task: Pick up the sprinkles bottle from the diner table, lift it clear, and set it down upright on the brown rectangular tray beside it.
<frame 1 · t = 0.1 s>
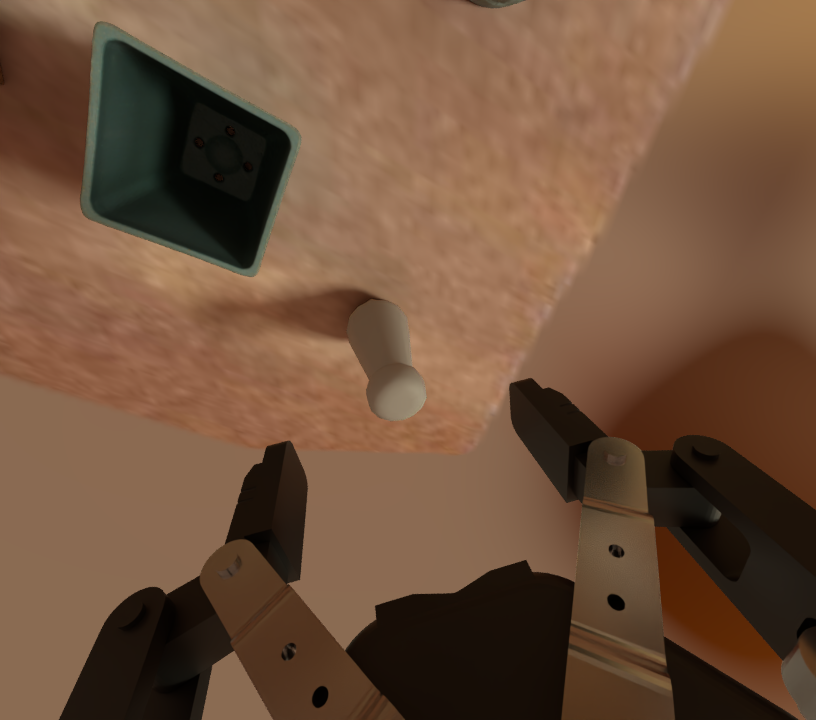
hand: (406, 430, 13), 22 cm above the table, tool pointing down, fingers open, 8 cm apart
flower pot: (226, 156, 26), on the table
salt shaker: (374, 316, 35), on the table
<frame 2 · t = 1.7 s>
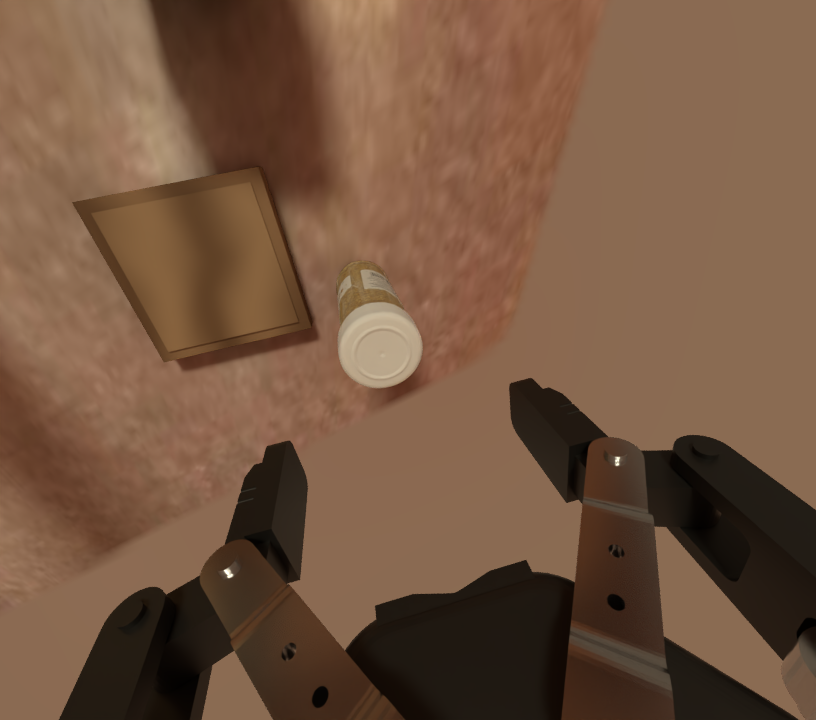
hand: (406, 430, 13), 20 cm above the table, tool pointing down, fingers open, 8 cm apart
brown rectangular tray: (212, 268, 28), on the table
sprinkles bottle: (363, 286, 31), on the table
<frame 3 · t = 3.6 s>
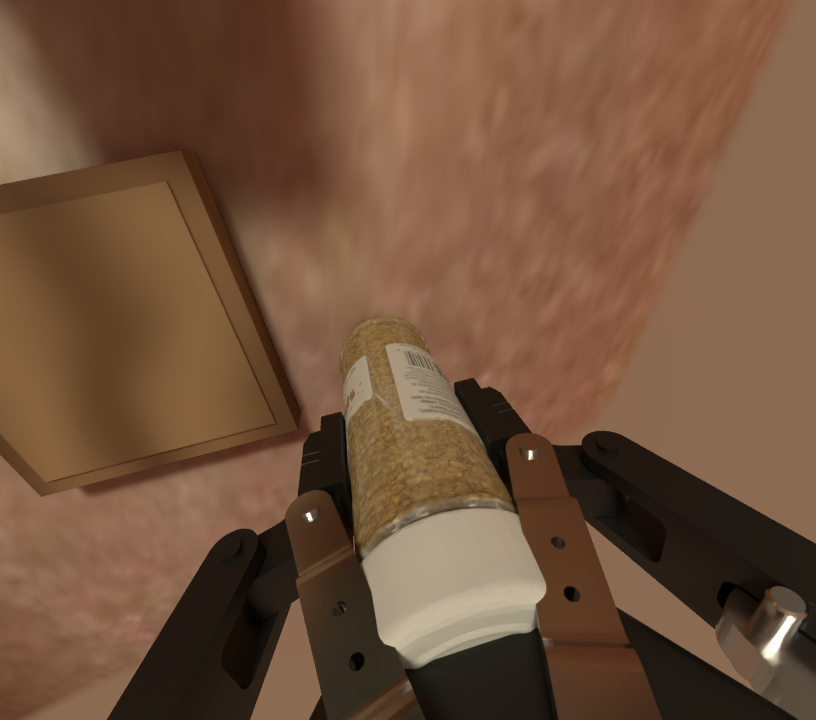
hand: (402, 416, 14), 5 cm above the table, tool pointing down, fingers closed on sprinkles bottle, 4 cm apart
brown rectangular tray: (119, 337, 16), on the table
sprinkles bottle: (384, 354, 18), on the table, touching gripper
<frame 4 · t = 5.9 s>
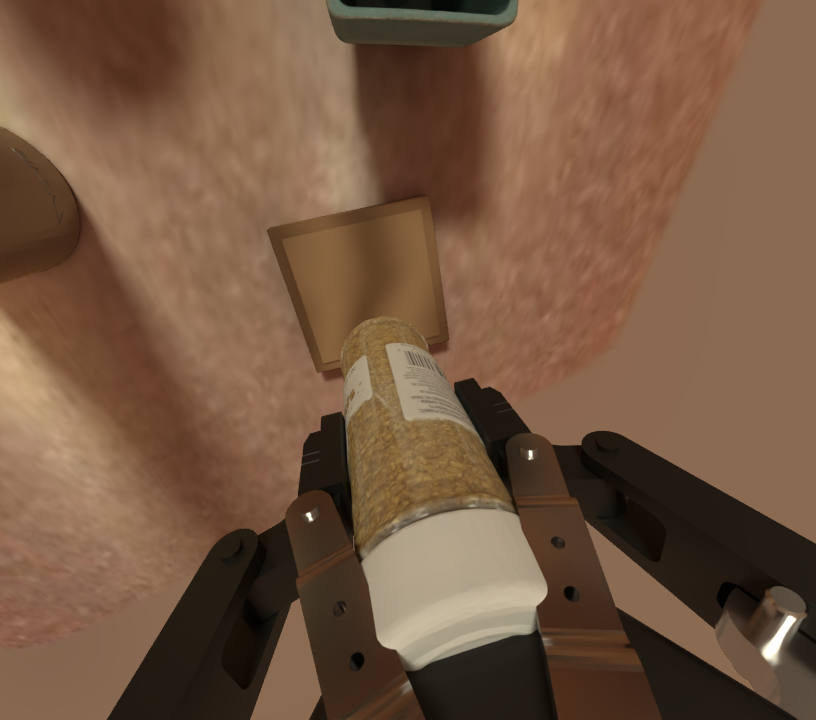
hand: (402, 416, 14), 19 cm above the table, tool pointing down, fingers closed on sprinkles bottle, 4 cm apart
brown rectangular tray: (367, 286, 30), on the table
sprinkles bottle: (384, 354, 18), point 13 cm above the table, touching gripper
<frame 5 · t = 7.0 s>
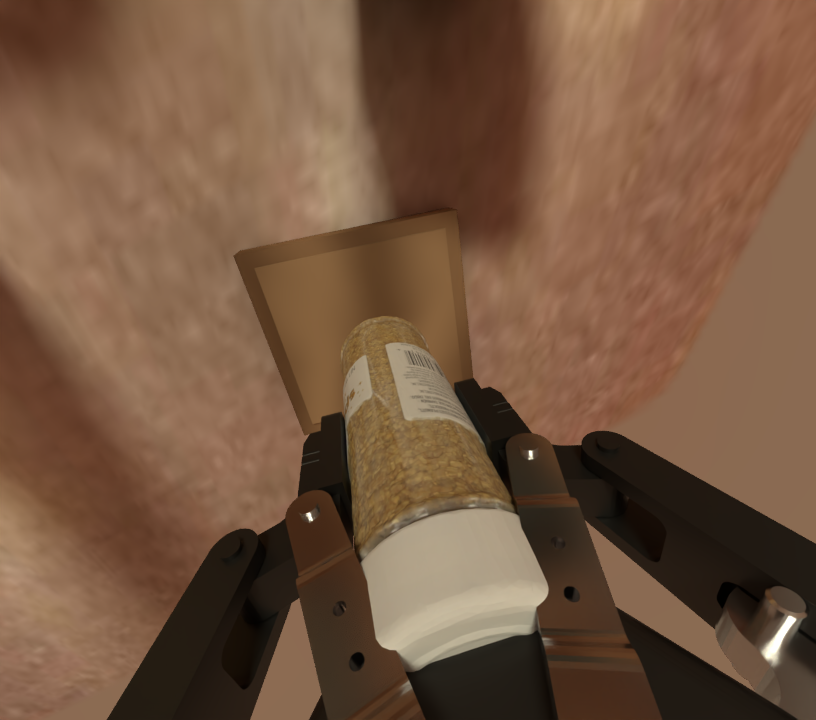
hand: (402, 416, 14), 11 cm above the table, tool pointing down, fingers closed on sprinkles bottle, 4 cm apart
brown rectangular tray: (370, 325, 23), on the table
sprinkles bottle: (384, 354, 18), point 5 cm above the table, touching gripper
when the fingers open (8 cm above the table, at t = 7.9 s): sprinkles bottle stays where it is, resting on brown rectangular tray.
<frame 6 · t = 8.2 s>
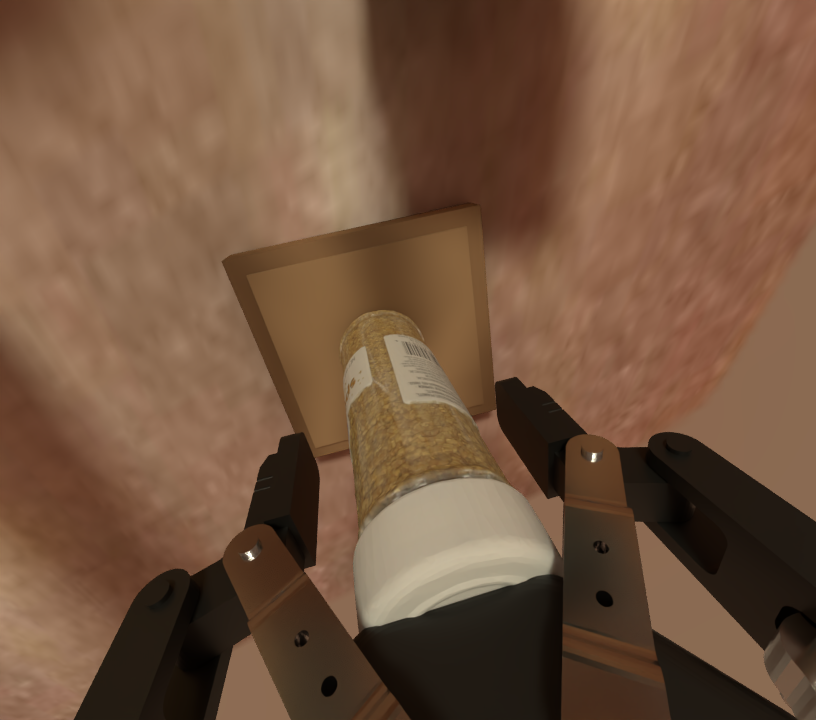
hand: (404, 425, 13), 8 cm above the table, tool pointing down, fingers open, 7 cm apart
brown rectangular tray: (379, 337, 20), on the table
sprinkles bottle: (382, 347, 19), point 1 cm above the table, touching brown rectangular tray
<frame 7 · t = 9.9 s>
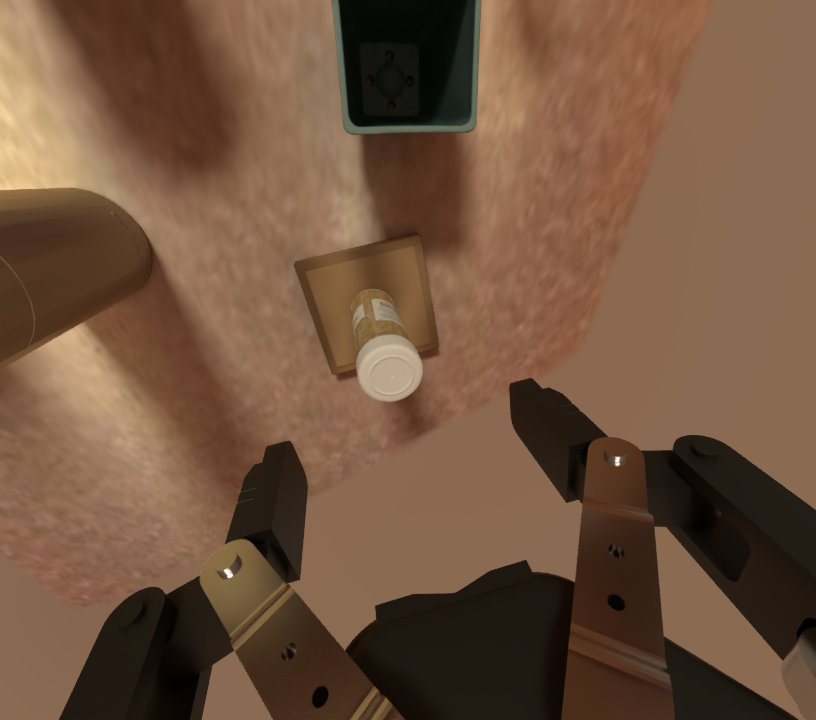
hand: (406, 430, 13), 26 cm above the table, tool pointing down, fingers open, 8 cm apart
brown rectangular tray: (371, 305, 37), on the table
flower pot: (390, 82, 29), on the table
sprinkles bottle: (372, 309, 36), point 1 cm above the table, touching brown rectangular tray
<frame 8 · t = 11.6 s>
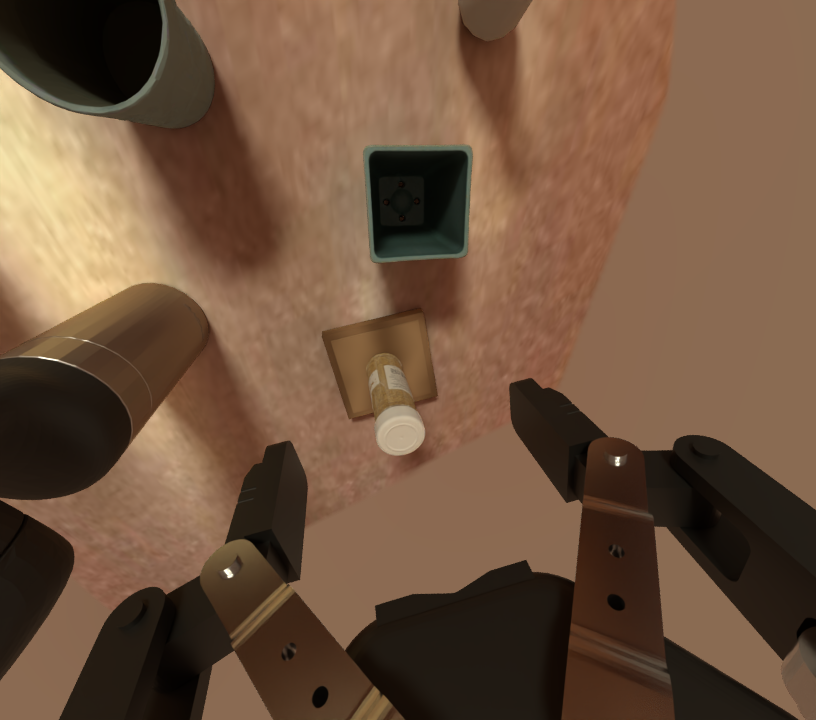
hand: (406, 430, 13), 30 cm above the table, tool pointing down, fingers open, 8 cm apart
brown rectangular tray: (382, 362, 45), on the table
green round cup: (159, 64, 30), on the table
flower pot: (401, 200, 38), on the table
salt shaker: (481, 7, 32), on the table
sprinkles bottle: (383, 367, 44), point 1 cm above the table, touching brown rectangular tray
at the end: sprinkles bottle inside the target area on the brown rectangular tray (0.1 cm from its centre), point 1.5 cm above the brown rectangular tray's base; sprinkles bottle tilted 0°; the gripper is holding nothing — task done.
